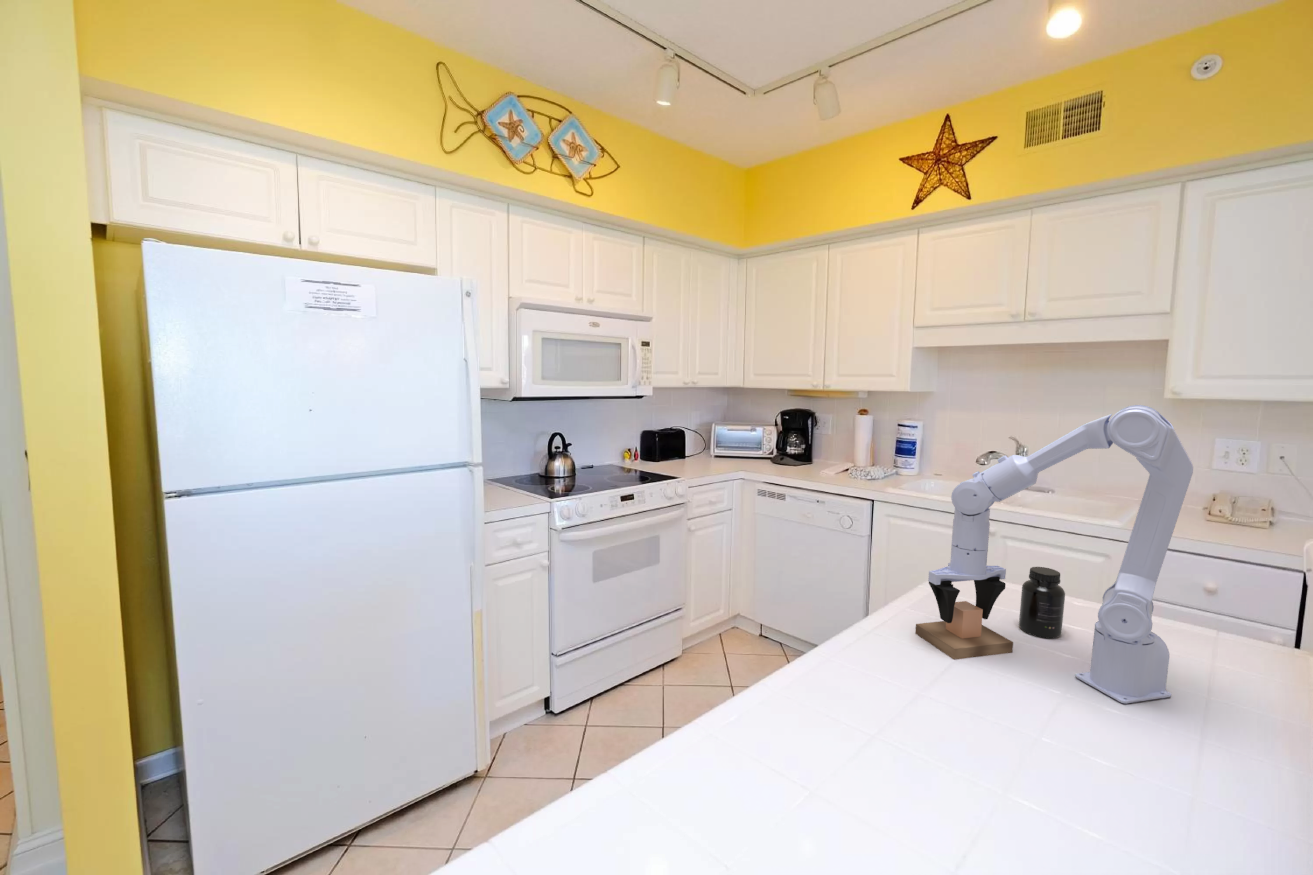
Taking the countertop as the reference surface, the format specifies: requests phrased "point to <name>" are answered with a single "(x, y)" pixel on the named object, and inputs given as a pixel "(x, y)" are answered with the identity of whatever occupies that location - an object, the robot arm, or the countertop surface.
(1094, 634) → the robot arm
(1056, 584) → the supplement bottle
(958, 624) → the terracotta block
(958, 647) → the walnut board
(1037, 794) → the countertop surface
